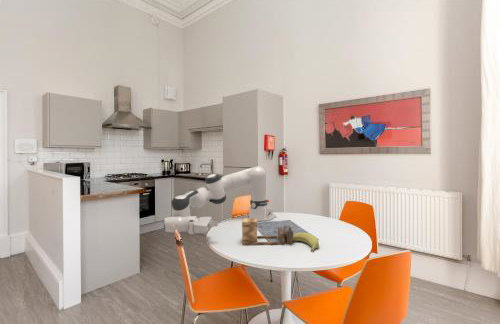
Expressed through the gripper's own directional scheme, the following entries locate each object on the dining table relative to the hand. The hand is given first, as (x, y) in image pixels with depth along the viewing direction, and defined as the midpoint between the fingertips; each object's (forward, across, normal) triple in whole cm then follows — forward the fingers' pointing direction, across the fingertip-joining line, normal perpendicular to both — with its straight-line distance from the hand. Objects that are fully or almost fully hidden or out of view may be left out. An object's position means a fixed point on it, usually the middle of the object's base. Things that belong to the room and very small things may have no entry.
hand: (218, 223), depth 146 cm
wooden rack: (+27, 0, -10) cm, 29 cm away
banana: (+46, +6, -11) cm, 48 cm away
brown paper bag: (+17, -1, -10) cm, 20 cm away
